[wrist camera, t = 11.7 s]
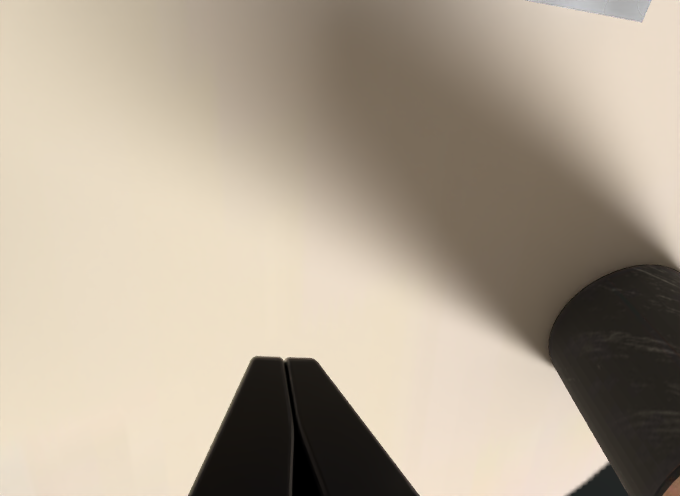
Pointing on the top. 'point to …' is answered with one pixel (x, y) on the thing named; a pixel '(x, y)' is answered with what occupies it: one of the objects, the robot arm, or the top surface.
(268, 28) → the top surface
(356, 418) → the robot arm
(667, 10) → the top surface
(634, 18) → the flange
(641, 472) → the travel mug
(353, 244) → the top surface
